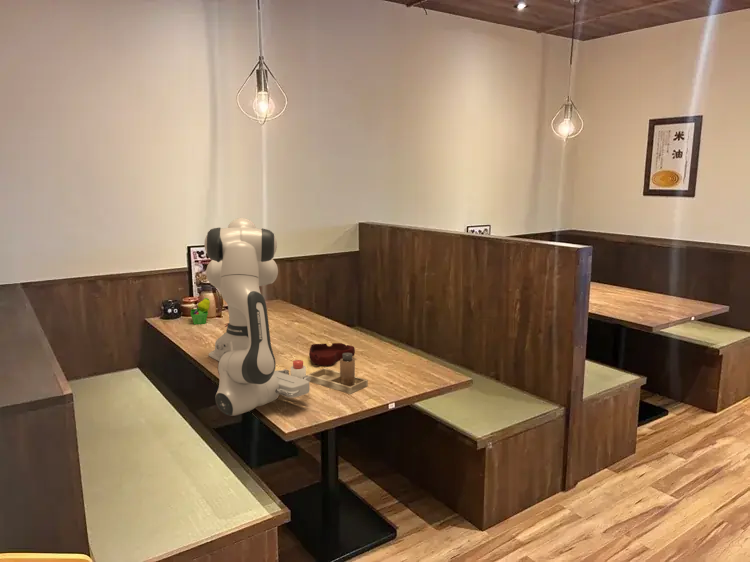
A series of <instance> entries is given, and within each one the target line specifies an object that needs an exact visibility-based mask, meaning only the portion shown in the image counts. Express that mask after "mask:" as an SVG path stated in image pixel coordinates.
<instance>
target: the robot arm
mask: <svg viewBox="0 0 750 562" xmlns="http://www.w3.org/2000/svg"><path fill="white" fill-rule="evenodd" d="M277 248H278V243H277V239H276V236H275V233H273V232H272V231H271V230H270V229H267V228H257V227H256V225H255V224H254V222H253V221H252V220H250V219H248V218H245V217H239V218H235V219H233V220H232V221H231V222H229V224H228V226H227V227H224V228H221V227H213V228H211V229H209V230H208V231H207V235H205V239H204V251H205V252H206V255H207V257H208V258H209V259H210V260H211V261H209V262H208V264H207V266H206V269H205V275H206V279H207V281H208V282H209V284H210V285H211V286H213V287H215V288H216V289H217V290H218V291H219V292H220V294H221V298H222V300H224V302H225V303H226V304H227V309H228V322H227V323H225V324H224V325H225V326H224V328H226V327H227V328H226V330H225V331H226V332H224V333H223V334H222V335H221V336H219V337H218V338H217V339H216V340H215V342H214V344H215V345H214V350H211V351H210V352H209V353H208V357H210V358H212V359H214V360H215V361H217V362H218V364H217V371H218V372H217V373H218V376H219V380H218V381H219V383H218V384H219V385H218V388H217V392H216V394H215V397H214V398H215V400H214V401H215V404H216V406H217V408H218V410H219V411H220V412H221V413H222V414H224V415H227V416H228V417H229V416H232V417H233V416H239V415H242V414H244V413H247V412H250V411H252V410H254V409H255V408H256V407H262V406H264V405H266V404H269V403H271V402H273V401H276V400H277V399H278V397H279V396H280V395H281V396H284V397H285V398H290V399H294V398H297V397H301V396H305V395H307V394H309V393H310V383H311V382H310V377H309V376H307V375H306V376H304V377H303V379H300V378H297V377H294V376H291V374H290V370H288V369H282V370H276V367H277V364H276V358H275V354H274V351H273V348H272V342H271V334H270V325H269V324H270V323H269V317H268V316H269V315H268V308H267V304H266V300H265V297H264V296H263V295H262V293H261V290H260V287H263V286H267V285H271V284H273V283H274V282H276V280H277V278H278V275H279V267H278V265H277V263H276V261H275V260H274V256H275V254H276V252H277V250H278V249H277Z"/></svg>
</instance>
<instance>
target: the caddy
mask: <svg viewBox="0 0 750 562" xmlns="http://www.w3.org/2000/svg"><path fill="white" fill-rule="evenodd" d="M306 376H309V377H310V382H309V383H313V384H316V385H319V386H323V387H326V388H329V389H332V390H335V391H339V392H343V393H345V394H349V395H351V394H354V393H355V392H358V391H360V390H362V389H364V388H366V387H368V386H369V385H368V383H369V380H368V379H365V378H362V377H359V376H355V385H353V386H346V385H343V384H340V371H337V370H334V369H329V368H326V367H324V368H320V369H318V370H316V371H313V372H311V373H309V374H308V373H307V374H306Z"/></svg>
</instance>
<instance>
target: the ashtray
mask: <svg viewBox="0 0 750 562" xmlns="http://www.w3.org/2000/svg"><path fill="white" fill-rule="evenodd" d="M343 353H352V358H353V357H354V356H355V353H356V349H355V346H354V345H349V344H347V345H346V343H342V342H333V343H332V344H331V345H328V343H313V344H311V345H310V348H309V354H308V355H309V360H310V361H311V362H312V364H314V365H316V366H320V367H330V366H333V365H334V364H335V363H336V362H340V359H342V358H343Z"/></svg>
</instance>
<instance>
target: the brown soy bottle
mask: <svg viewBox="0 0 750 562" xmlns="http://www.w3.org/2000/svg"><path fill="white" fill-rule="evenodd" d="M339 372H340V384H343V385H346V386H353V385H355V377H356V360H355V358H353V357H352V353H343V358H342V359H340V360H339Z"/></svg>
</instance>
